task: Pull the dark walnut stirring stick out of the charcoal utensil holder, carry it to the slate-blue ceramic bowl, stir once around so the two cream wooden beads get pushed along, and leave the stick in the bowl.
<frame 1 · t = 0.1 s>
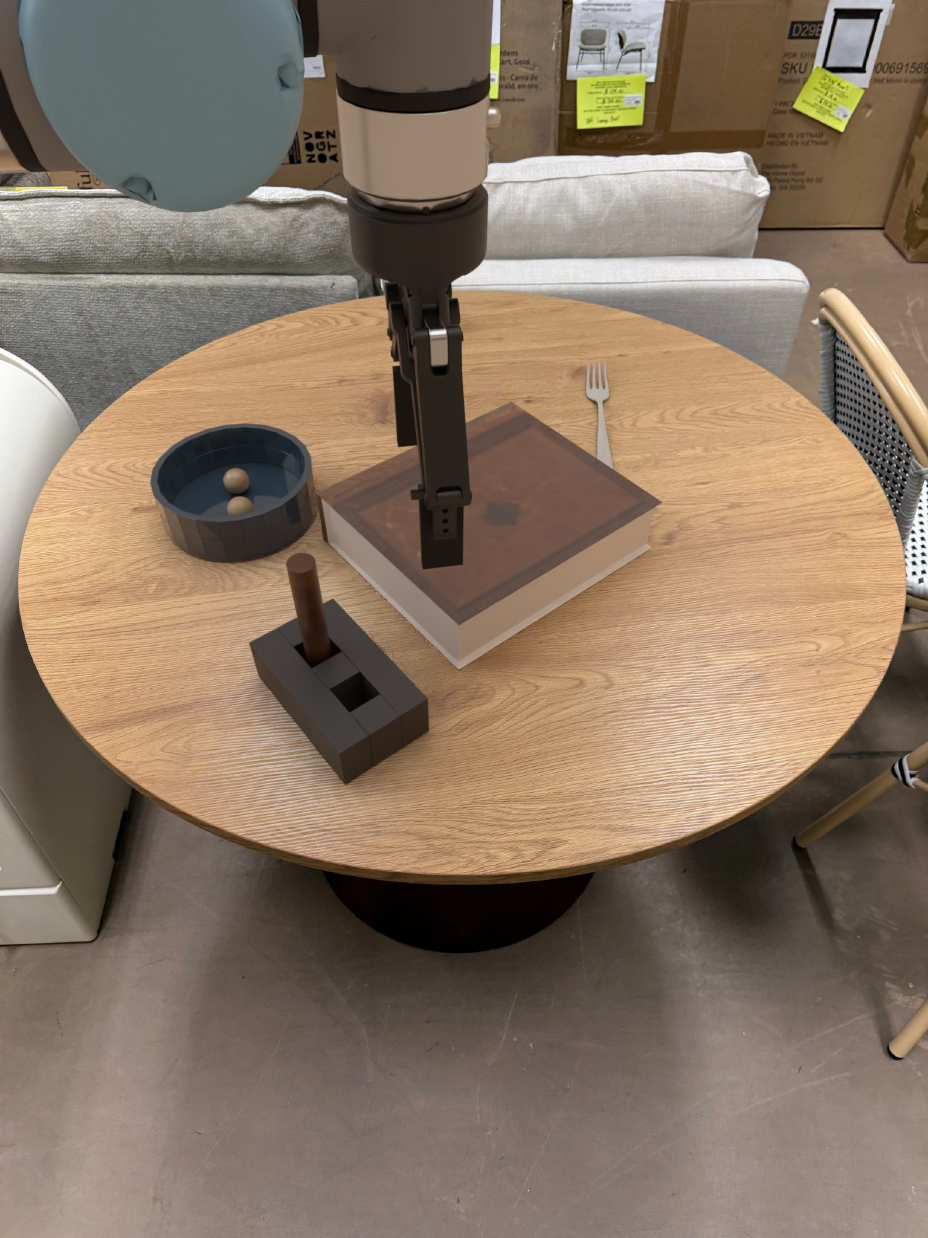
hand: (427, 498, 58), 25 cm above the table, tool pointing down, fingers open, 13 cm apart
frog figurine: (428, 327, 124), on the table
fork: (599, 422, 108), on the table
stirring stick: (324, 682, 78), resting in holder
bead a: (240, 509, 92), point 2 cm above the table, touching bowl
holder: (341, 702, 77), on the table
book: (487, 544, 92), on the table
bowl: (242, 510, 95), on the table
bead b: (236, 481, 95), point 2 cm above the table, touching bowl
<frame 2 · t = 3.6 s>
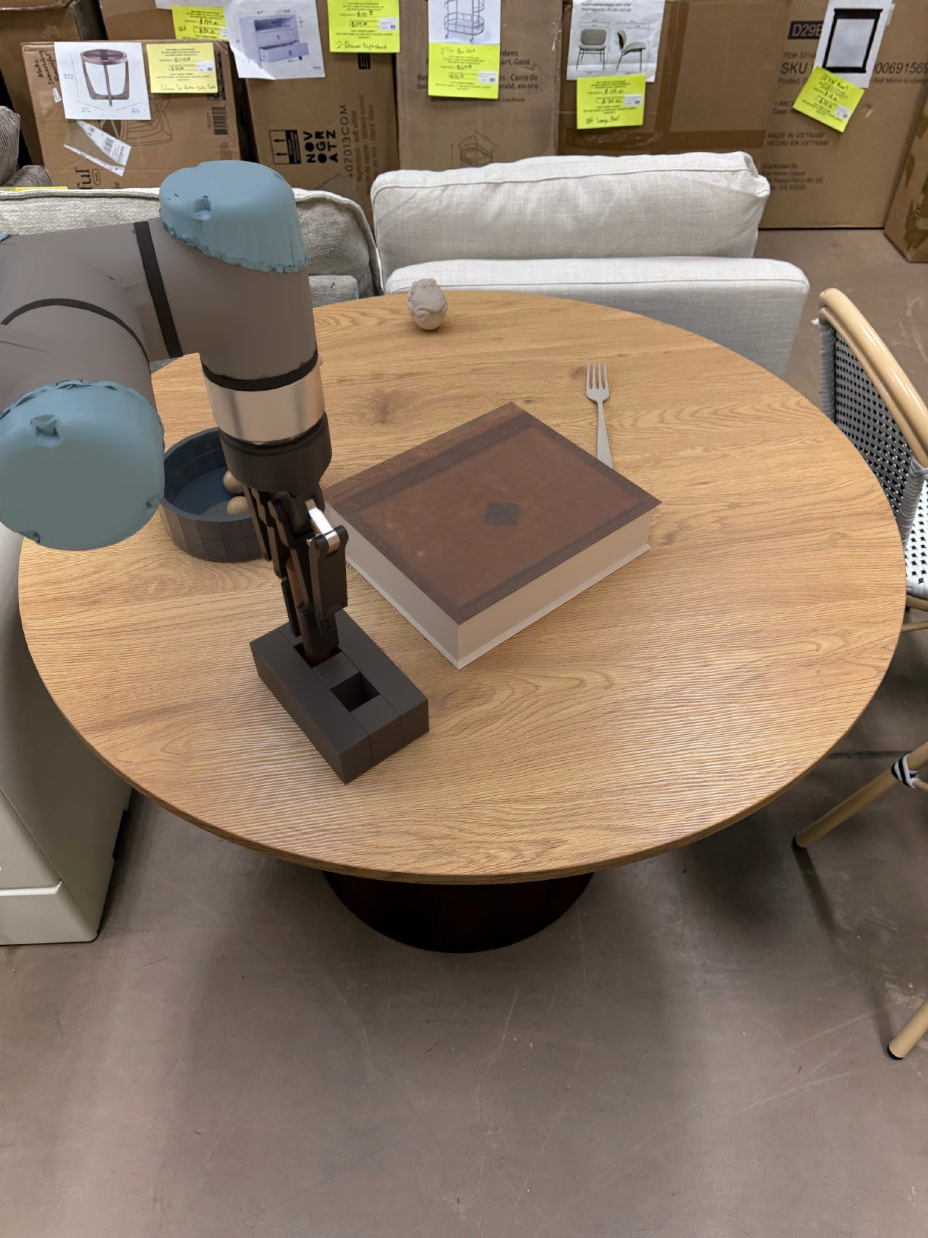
hand: (315, 638, 73), 7 cm above the table, tool pointing down, fingers closed on stirring stick, 2 cm apart
stirring stick: (324, 682, 78), resting in holder, touching gripper
everything else where it was.
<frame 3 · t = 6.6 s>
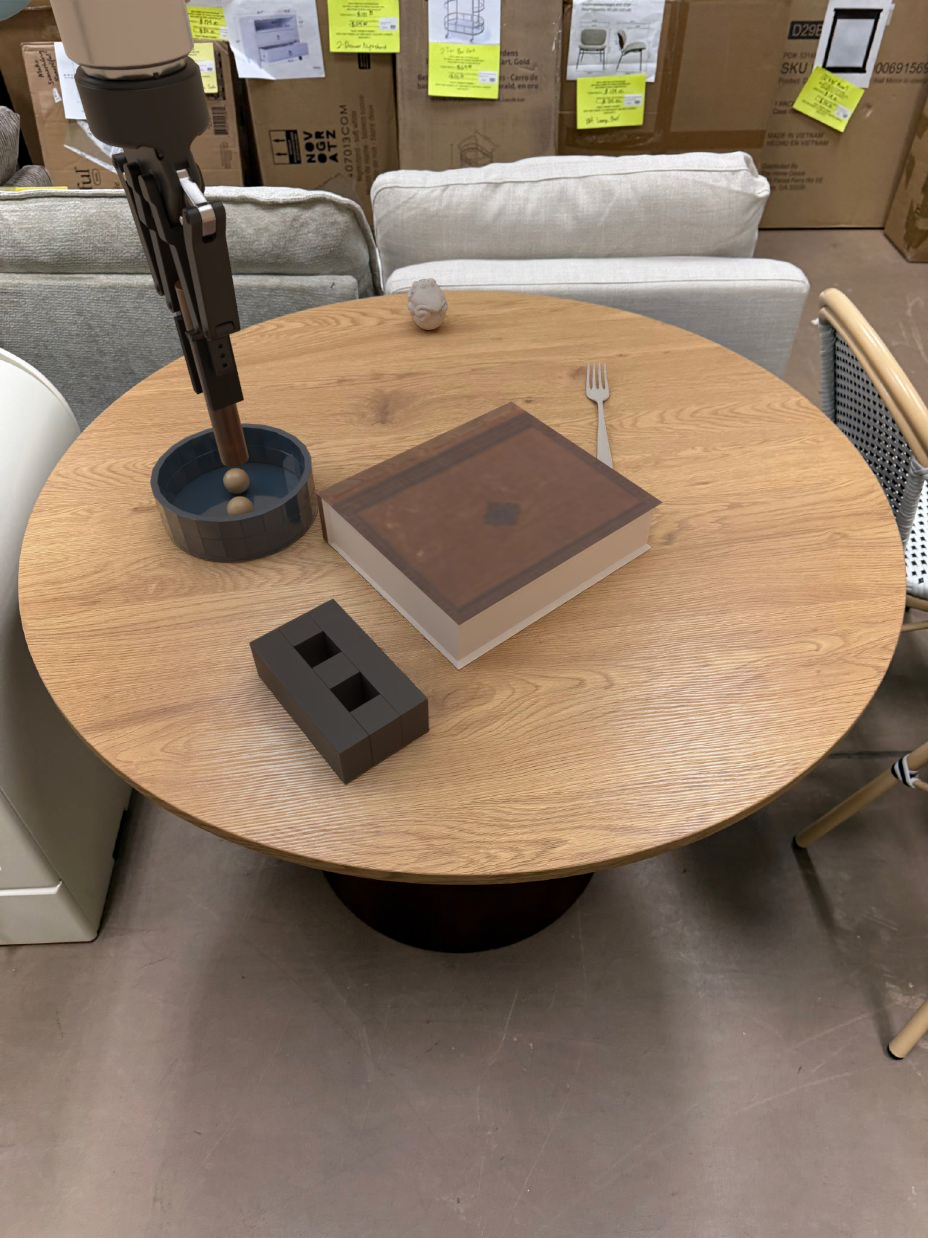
hand: (218, 394, 67), 25 cm above the table, tool pointing down, fingers closed on stirring stick, 2 cm apart
stirring stick: (235, 458, 72), point 18 cm above the table, touching gripper
everything else where it was.
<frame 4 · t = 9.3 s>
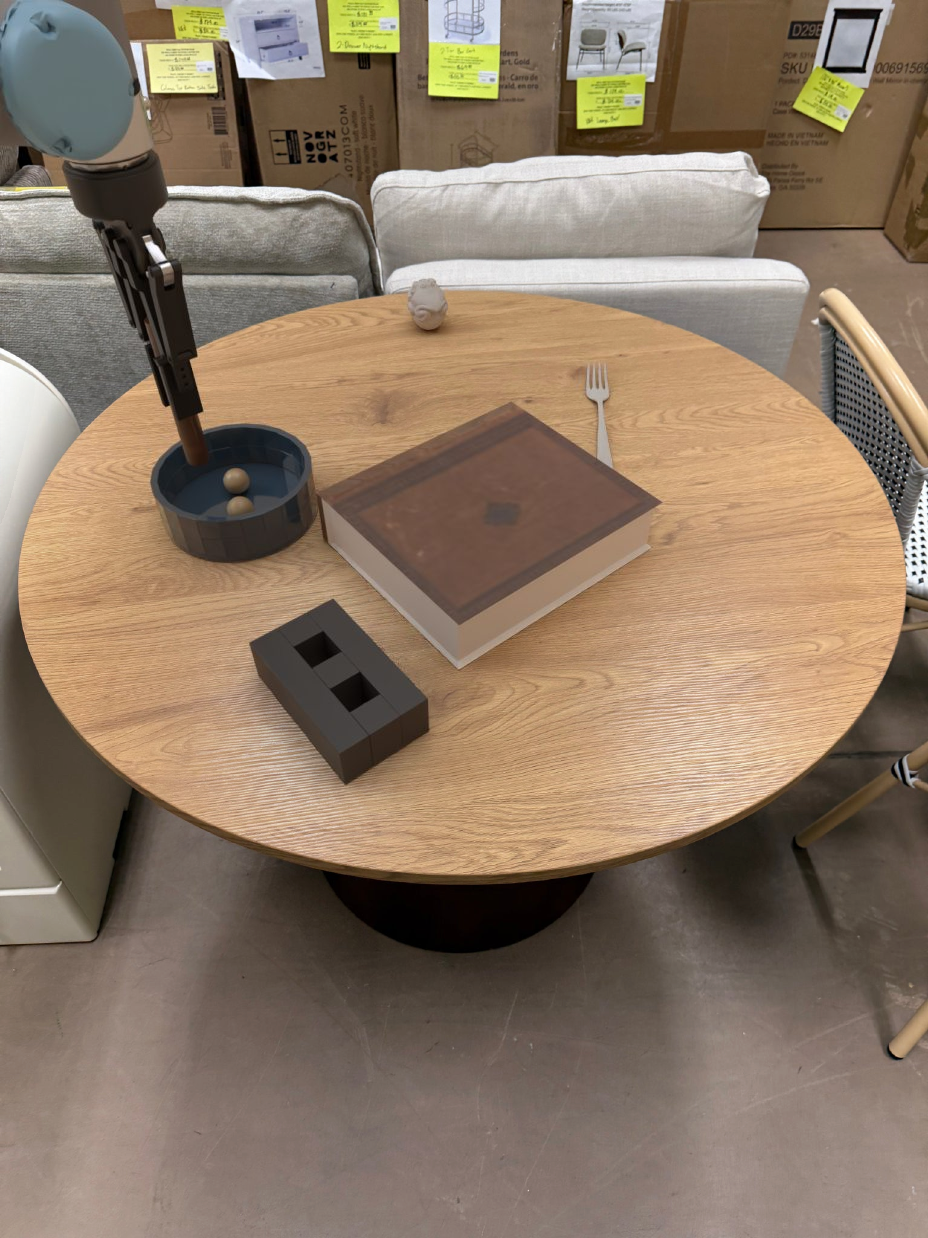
hand: (182, 407, 82), 15 cm above the table, tool pointing down, fingers closed on stirring stick, 2 cm apart
stirring stick: (198, 459, 87), point 9 cm above the table, touching gripper
everything else where it was.
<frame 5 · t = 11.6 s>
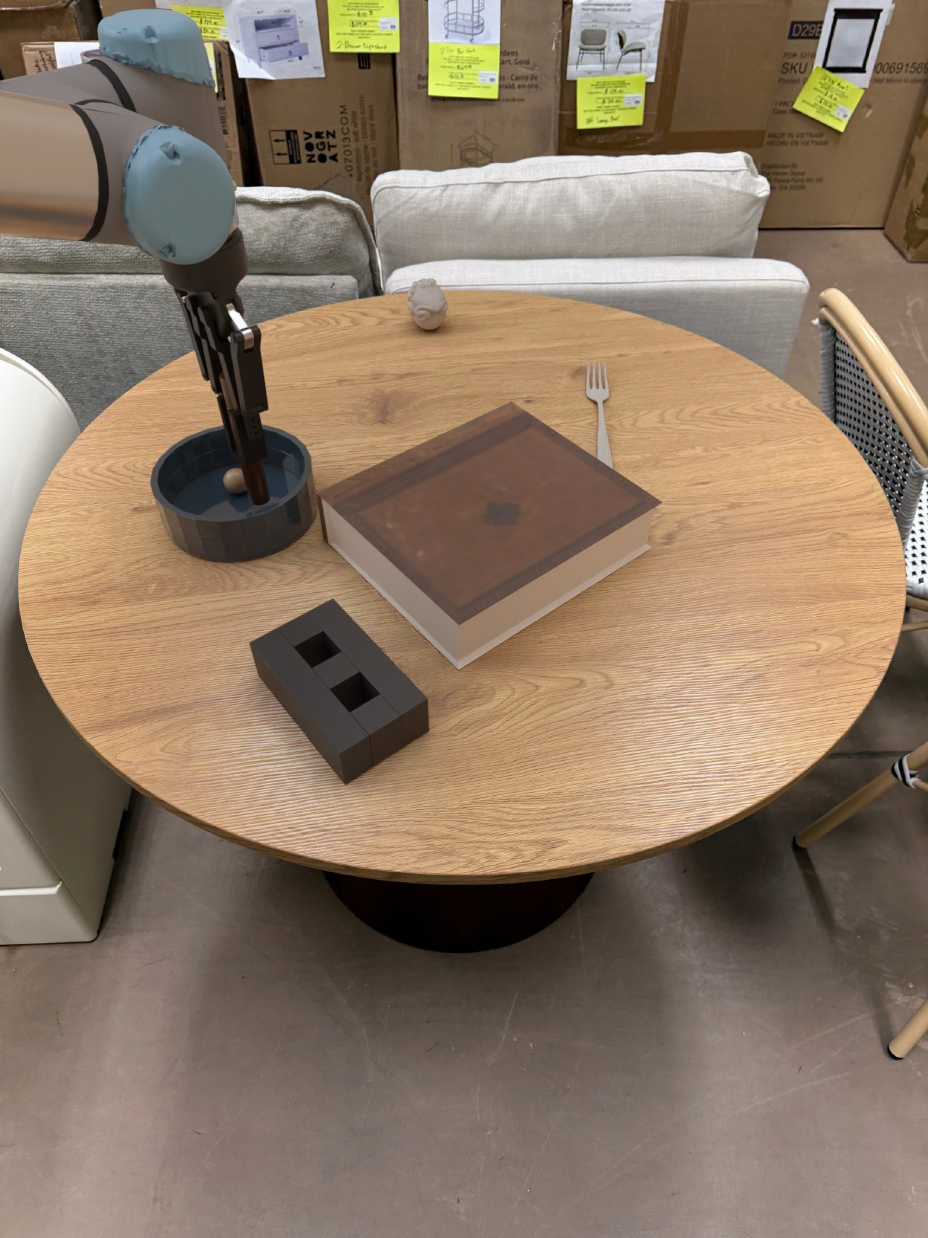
hand: (248, 452, 88), 9 cm above the table, tool pointing down, fingers closed on stirring stick, 2 cm apart
stirring stick: (259, 498, 93), point 2 cm above the table, touching gripper
bead a: (283, 513, 91), point 2 cm above the table, tilted 172°, touching bowl
everything else where it was.
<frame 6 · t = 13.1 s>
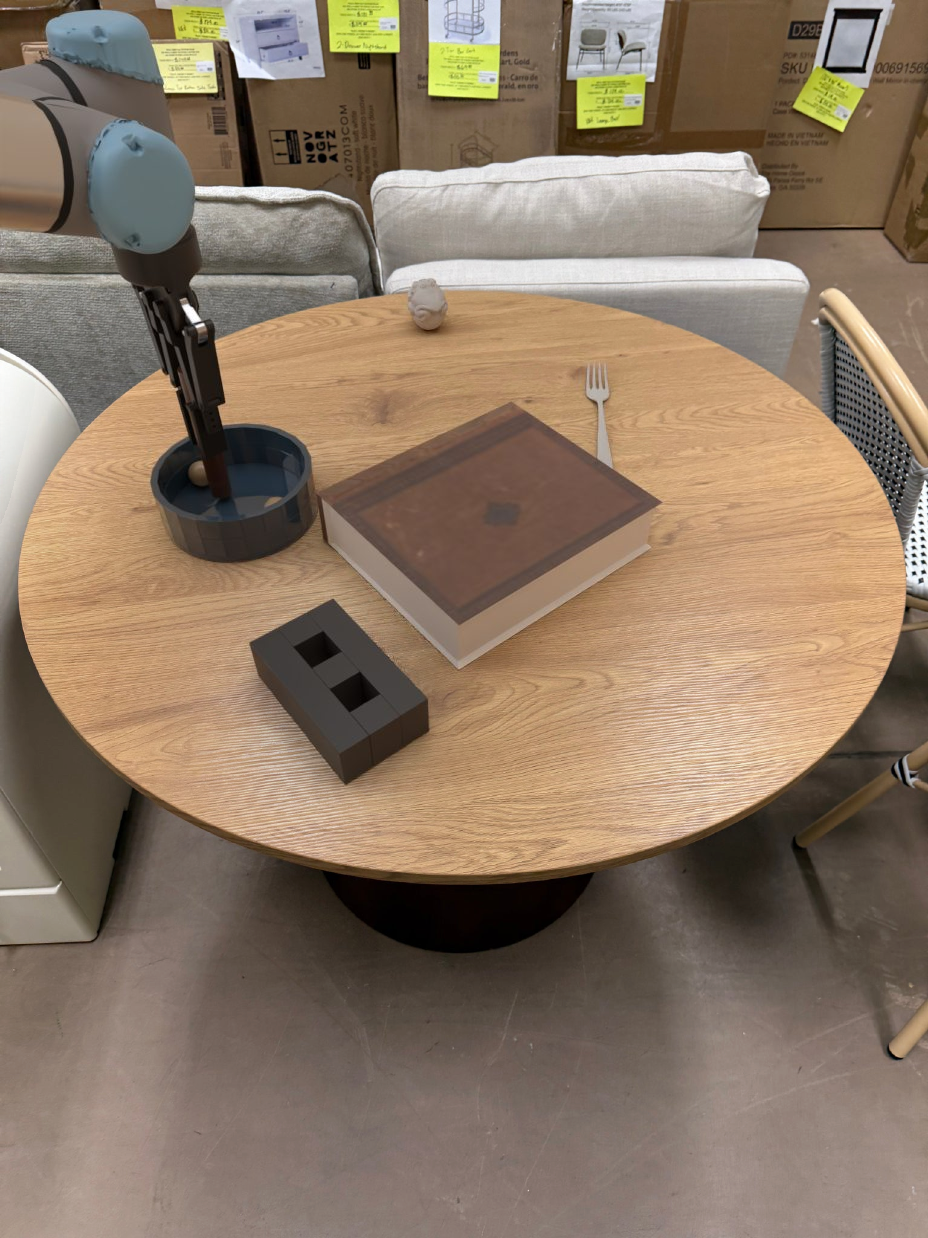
hand: (209, 445, 90), 8 cm above the table, tool pointing down, fingers closed on stirring stick, 2 cm apart
stirring stick: (221, 491, 95), point 2 cm above the table, touching gripper
bead a: (277, 509, 92), point 2 cm above the table, tilted 149°, touching bowl
bead b: (201, 473, 96), point 2 cm above the table, tilted 174°, touching bowl
everything else where it was.
when the fingers open (7 cm above the table, at t = 15.2 s): stirring stick stays where it is, resting on bowl.
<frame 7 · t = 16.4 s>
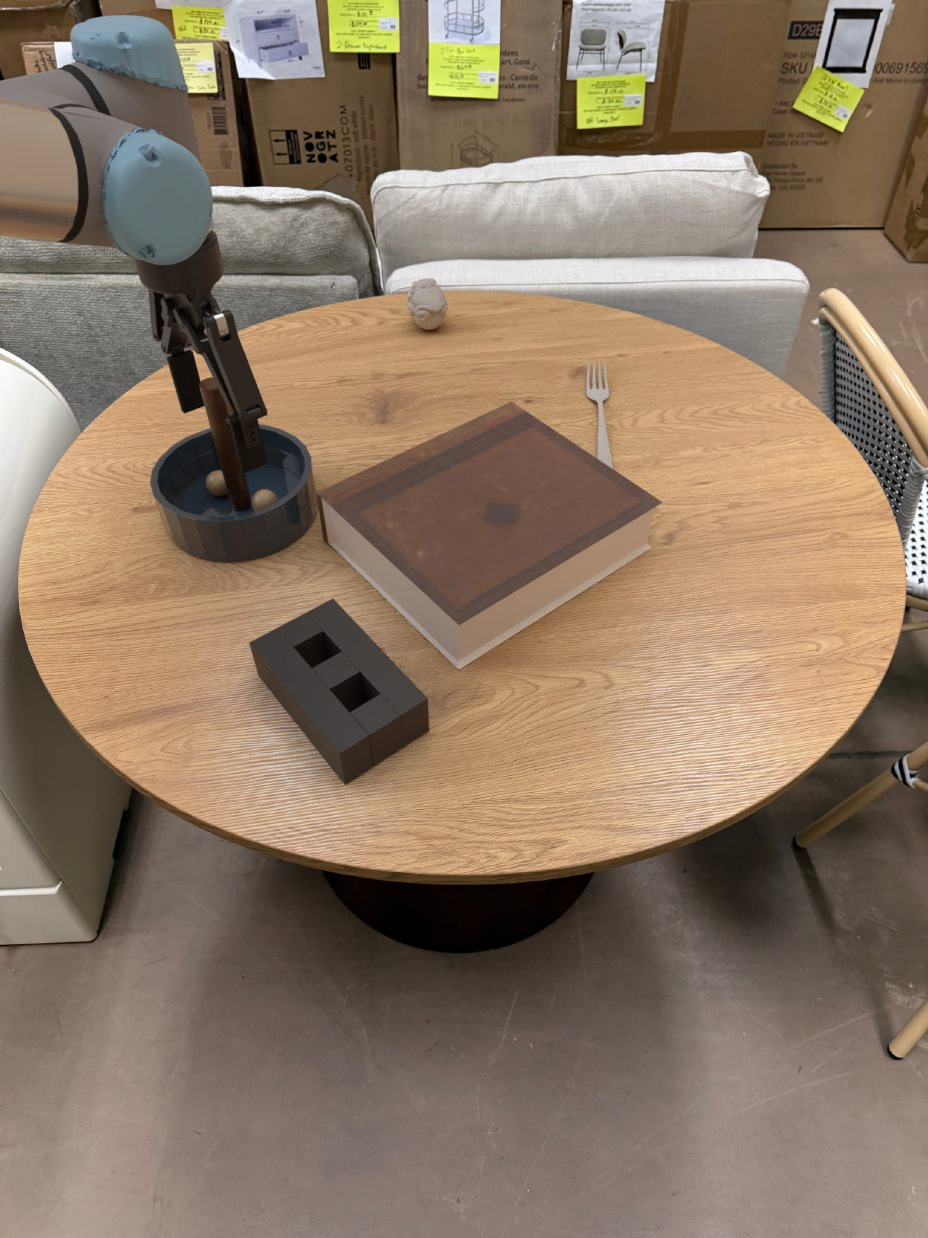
hand: (222, 436, 87), 10 cm above the table, tool pointing down, fingers open, 13 cm apart
stirring stick: (241, 504, 95), point 1 cm above the table, touching bowl
bead a: (265, 502, 93), point 2 cm above the table, tilted 70°, touching bowl
bead b: (219, 483, 95), point 2 cm above the table, tilted 59°, touching bowl
everything else where it was.
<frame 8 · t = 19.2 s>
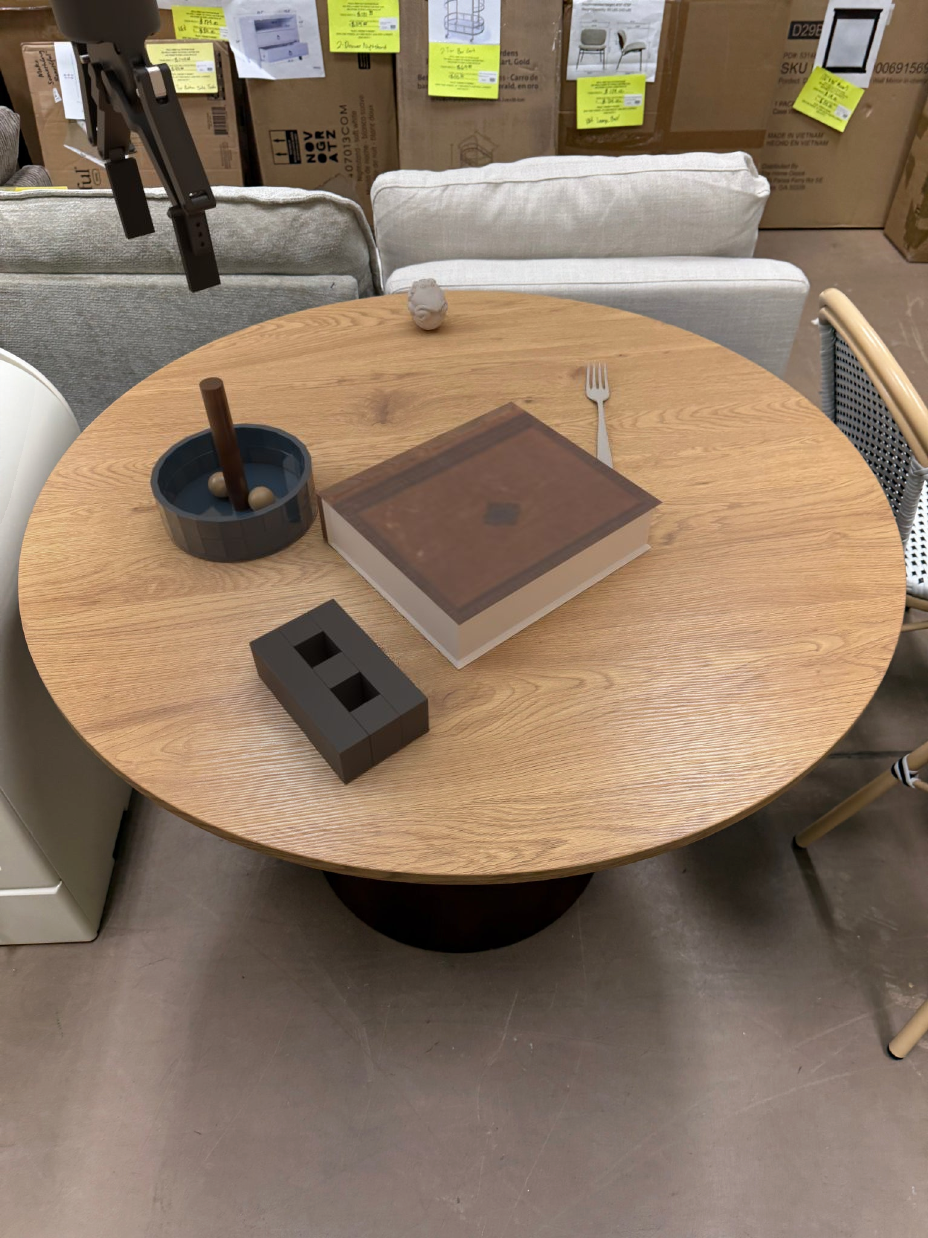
hand: (171, 259, 75), 29 cm above the table, tool pointing down, fingers open, 13 cm apart
bead a: (261, 499, 93), point 2 cm above the table, tilted 45°, touching bowl
bead b: (221, 484, 95), point 2 cm above the table, tilted 43°, touching bowl
everything else where it was.
at the end: bead a moved 2.7 cm from its start; bead a inside the target area in the bowl (2.9 cm from its centre), point 2.3 cm above the bowl's base; stirring stick 0.1 cm from the bowl (horizontally) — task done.
